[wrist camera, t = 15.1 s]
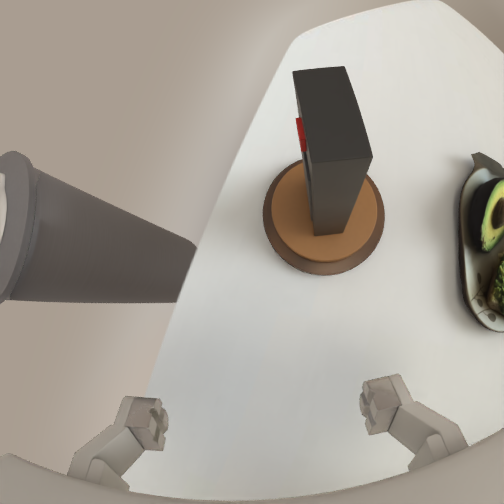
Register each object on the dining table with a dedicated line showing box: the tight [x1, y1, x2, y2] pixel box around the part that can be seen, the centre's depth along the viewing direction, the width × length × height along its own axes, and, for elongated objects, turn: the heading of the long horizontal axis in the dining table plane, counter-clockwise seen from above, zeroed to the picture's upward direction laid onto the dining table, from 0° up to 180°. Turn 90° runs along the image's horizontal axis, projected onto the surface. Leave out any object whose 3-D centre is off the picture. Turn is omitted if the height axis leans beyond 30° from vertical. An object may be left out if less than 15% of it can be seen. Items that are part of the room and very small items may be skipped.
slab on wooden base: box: [272, 66, 377, 262], centre depth 18 cm, size 9×9×15 cm
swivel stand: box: [263, 159, 385, 275], centre depth 26 cm, size 11×11×1 cm
